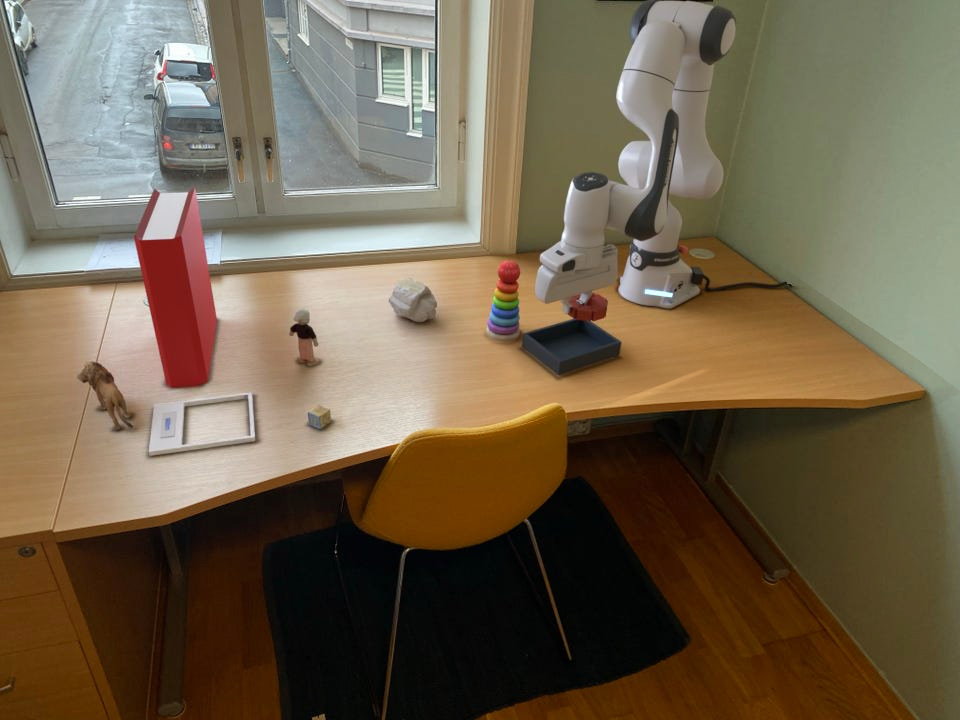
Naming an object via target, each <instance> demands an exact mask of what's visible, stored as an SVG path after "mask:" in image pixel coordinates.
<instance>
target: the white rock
mask: <svg viewBox="0 0 960 720" xmlns="http://www.w3.org/2000/svg"><path fill="white" fill-rule="evenodd" d="M388 302H389V305H390V307H391V308H392V309H393V312H394V314H395V315H398V316H401V317H403V318H407V319H409V320H411V321H412V322H414V323H423V322H425V321H427V320H431V319H433V318H434V317H435V316H436V313H437V307H438V302H437V300H436V297H435V295H434V293H433V292H432V290H431V289H430V288H429V287H428V286H427V285H425V284H423V283H422V282H419V281H417V280H414V279H412V278H410V277H409V278H404V279H402V280H399V281H397V282H396V283H395V284H394V287H393V290H392V293H391V295H390V296H389V298H388Z"/></svg>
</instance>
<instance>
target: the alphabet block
mask: <svg viewBox="0 0 960 720" xmlns="http://www.w3.org/2000/svg"><path fill="white" fill-rule="evenodd" d="M307 421H308V425H309V426H311V427H314V428H316V429H318V430H321V429H323V428H325V427H326V426H327V425H328V424H330V423H332V415H331V409H330V408H327V407H326V406H323V405H320V404H317V405H316V406H315V407H312V408H311V409H310V410H308V411H307Z"/></svg>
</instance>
